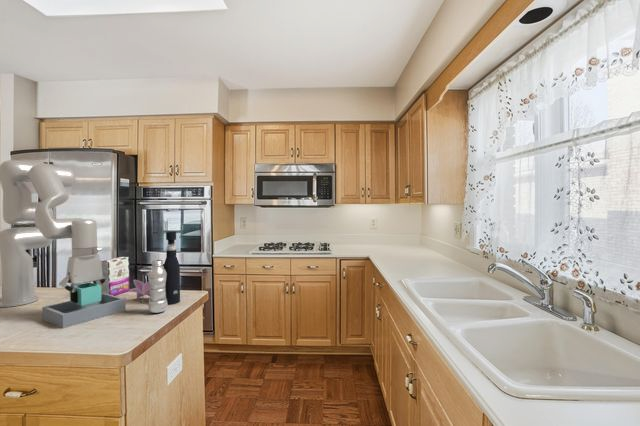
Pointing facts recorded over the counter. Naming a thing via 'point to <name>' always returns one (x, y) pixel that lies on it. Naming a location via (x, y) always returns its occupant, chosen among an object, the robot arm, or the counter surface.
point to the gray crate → (82, 311)
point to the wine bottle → (172, 271)
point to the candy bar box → (116, 276)
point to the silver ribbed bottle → (157, 287)
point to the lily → (141, 288)
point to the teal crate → (88, 293)
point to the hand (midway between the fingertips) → (85, 299)
